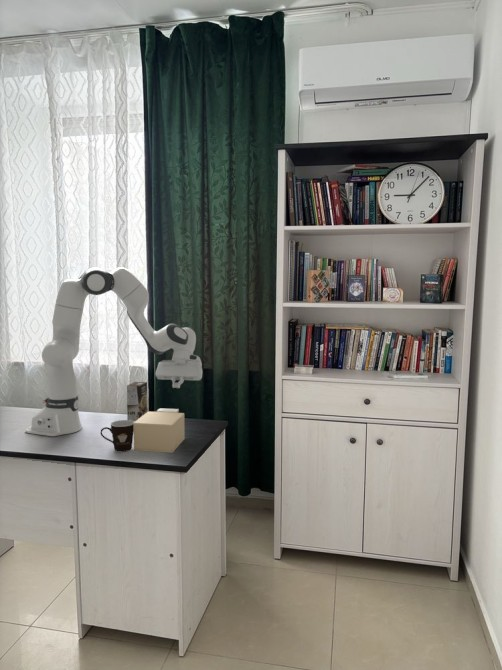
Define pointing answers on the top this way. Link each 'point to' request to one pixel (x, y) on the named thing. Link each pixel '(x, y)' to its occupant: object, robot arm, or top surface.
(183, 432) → the carton
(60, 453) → the top surface
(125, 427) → the coffee mug
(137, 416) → the coffee box
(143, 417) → the flap
